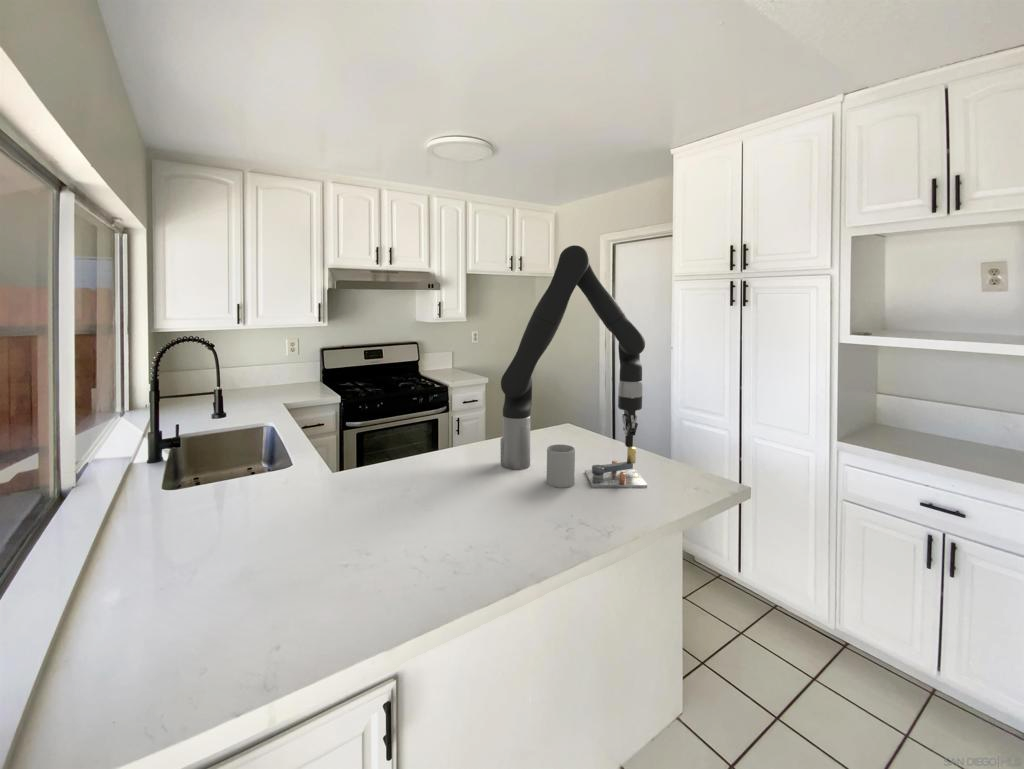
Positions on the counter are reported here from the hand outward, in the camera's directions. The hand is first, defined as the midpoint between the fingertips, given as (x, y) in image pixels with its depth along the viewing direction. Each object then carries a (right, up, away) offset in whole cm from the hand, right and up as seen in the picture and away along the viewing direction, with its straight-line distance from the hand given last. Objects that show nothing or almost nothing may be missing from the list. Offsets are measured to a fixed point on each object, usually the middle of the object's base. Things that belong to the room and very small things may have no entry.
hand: (628, 446), depth 159 cm
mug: (-24, -10, -9) cm, 27 cm away
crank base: (-6, -9, -8) cm, 14 cm away
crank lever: (-6, -7, -7) cm, 11 cm away
